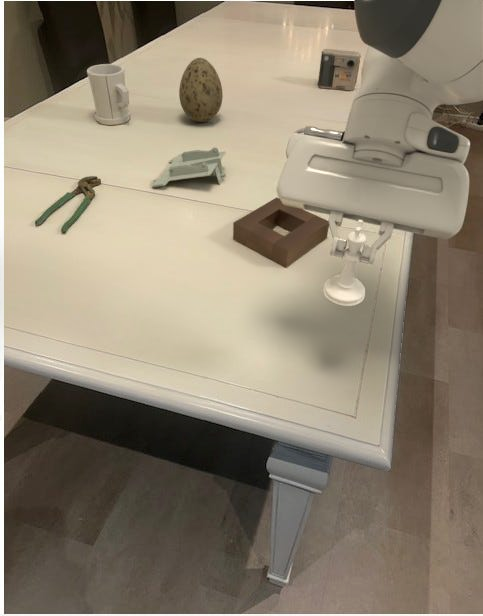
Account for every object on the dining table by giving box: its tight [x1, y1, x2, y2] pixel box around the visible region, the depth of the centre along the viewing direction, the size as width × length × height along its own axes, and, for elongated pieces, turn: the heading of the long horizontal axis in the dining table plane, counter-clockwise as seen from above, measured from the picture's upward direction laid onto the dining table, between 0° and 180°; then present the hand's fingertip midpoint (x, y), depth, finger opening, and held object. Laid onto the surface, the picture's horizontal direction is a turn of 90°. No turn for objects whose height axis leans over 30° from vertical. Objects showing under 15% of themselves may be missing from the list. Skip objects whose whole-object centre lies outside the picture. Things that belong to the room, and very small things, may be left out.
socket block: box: [232, 196, 330, 268], centre depth 85 cm, size 12×12×4 cm
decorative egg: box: [178, 57, 224, 123], centre depth 120 cm, size 11×11×15 cm
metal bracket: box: [151, 146, 227, 188], centre depth 102 cm, size 14×6×15 cm
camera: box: [317, 48, 362, 92], centre depth 142 cm, size 11×6×10 cm, turn 73°
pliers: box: [34, 175, 102, 234], centre depth 93 cm, size 20×7×1 cm, turn 165°
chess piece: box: [322, 220, 367, 307], centre depth 54 cm, size 5×5×10 cm
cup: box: [86, 63, 131, 126], centre depth 120 cm, size 10×9×12 cm
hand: (351, 259), depth 53 cm, fingers closed on chess piece
